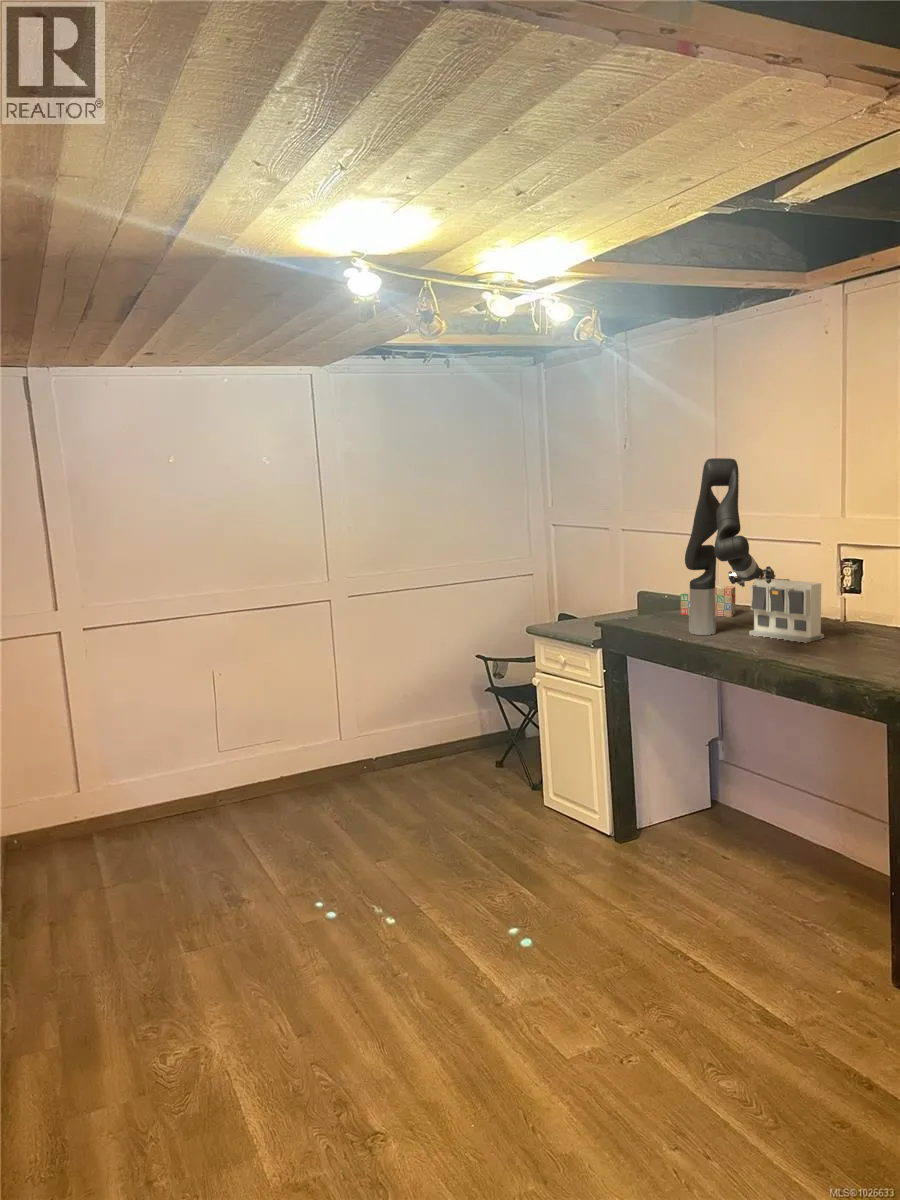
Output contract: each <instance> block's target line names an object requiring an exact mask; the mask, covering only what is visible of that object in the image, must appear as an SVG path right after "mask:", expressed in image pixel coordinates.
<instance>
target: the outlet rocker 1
mask: <svg viewBox="0 0 900 1200" xmlns="http://www.w3.org/2000/svg"><path fill="white" fill-rule="evenodd" d="M769 592H770V599H771V605H772V611H779V612H784V595H785V592H784V589H774V588H771V589H770V590H769Z"/></svg>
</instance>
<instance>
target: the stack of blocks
mask: <svg viewBox="0 0 900 1200" xmlns="http://www.w3.org/2000/svg"><path fill="white" fill-rule="evenodd" d="M715 606H716V616H726V617H725V618H733V617H734V616H735V615H736V586H733V585H731V586H729V585H715ZM689 607H690V591H683V592H682V593H680V615H681V616H689ZM734 614H735V615H734ZM733 615H734V616H733ZM732 616H733V617H732Z"/></svg>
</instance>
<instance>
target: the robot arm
mask: <svg viewBox="0 0 900 1200" xmlns="http://www.w3.org/2000/svg"><path fill="white" fill-rule="evenodd" d="M701 474H702V476H701V483H700V484H701V485H700V492H699V496H698V501H697V505H696V508H695V513H694V518H693V524H692V529H691V533H690V537H689V540H688V543H687V547H686V548H685V549H686V551H685V554H684V564H685V567H686V568H687V569H688V570H690V571H703V573H702V574H701V575H700V576H697V577H696V578H693V579H691V580H690V581H689V592H690V607H689V615H688V632H689V633H690V634H691V635H694V634H695V636H711V634H712V635H715V634H716V632H717V630H716V625H717V623H716V621H717V620H716V619H717V618H716V606H715V586H716V582H717V581H716V577H717V576H716V575H717V573H716V572H717V571H716V570H717V569H716V568H717V560H718V561H719V562H727V563H728V564H729V566H730V567H731V569H732V571H728V579H729V582H730V583H731V584H732V585H735V584H736V583H737V585H739V586H740V587H742V588H743V587H745V586H746V585H745V583H746V582H751V581H754V580H766V582H767V583H768V584H769V583H770V582H771V579H774V578H775V577H774V575H775V571H774V570H773V569H772V568H771V566H770V565H768V566H765V567H766V568H764V569H763V568H761V567H760V566H759V565H758V563H757V561H756V560H755V558H754V557H753V556H752V555H751V554H750V544H749V540H748V539H747V537H745V536H743V535H739V533H740V532H741V530H742V529H741V521H740V513H739V486H740V485H739V481H740V480H739V478H740V477H739V465H738V462H737V460H736V459H734V458H724V457H721V458H720V457H719V458H713V457H712V458H708V459H707V460H706V461H705V462H704V464H703V468H702V473H701ZM713 487H728V489H727V492H726V494H725V496H724V497H723V498H722V500H721V502H720V501H719V499H718V498H717V496H716V495H715V494H714V492H713V489H712V488H713ZM715 533H716V534H717V535H716V538H715V543H714V545H713V544H704V543H706V541H707V540H709V539H710V538H711V537H712V536H713V535H715Z"/></svg>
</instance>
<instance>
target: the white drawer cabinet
mask: <svg viewBox="0 0 900 1200" xmlns="http://www.w3.org/2000/svg"><path fill="white" fill-rule="evenodd" d="M777 579H778V578H775V579H771V582H770V583H769V584H768V583H767V582H766V580H757V579H755V580H754V579H753V584H751V585H750V610H752V611H753V629H752V630H751V629H750V630H749V631H748V632H749V635H748V636H752V635H753V637H759V636H763V637H762V638H765V637H770V638H769V639H772V638H777V639H776V640H779V639H784V640H783V641H786V640H790V641H789V642H793V641H797V642H796V643H800V642H804V643H803V644H808V643H807V642H809V643H812V642H811V641H813V642H815V640H816V641H820V640H822V638H824V639H825V634H824V633H822V624H821V623H822V583H821V582H820V583H819V582H813V581H812V582H810V581H801V580H799V581H798V580H790V579H789V580H790V581H789V580H777ZM754 587H765V588H766V610H760V609H753V608H751V606H752V599H753V593H754ZM771 588H774V589H784V592H785V595H784V612H779V611H772V605H771V599H770V592H769V590H770V589H771ZM790 590H795V591H803V593H804V614H797V613H791V610H790V603H789V596H788V591H790ZM819 639H820V640H819Z"/></svg>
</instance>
